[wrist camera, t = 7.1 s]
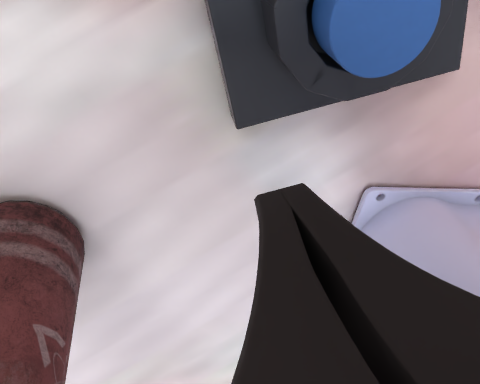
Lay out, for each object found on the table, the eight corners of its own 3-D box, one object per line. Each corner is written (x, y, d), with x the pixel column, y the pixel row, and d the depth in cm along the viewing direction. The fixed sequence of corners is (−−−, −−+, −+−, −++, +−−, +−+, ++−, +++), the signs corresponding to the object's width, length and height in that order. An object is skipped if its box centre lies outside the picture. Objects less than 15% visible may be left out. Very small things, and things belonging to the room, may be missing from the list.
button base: (465, -173, 16) (535, -185, 13) (441, 59, 21) (487, 85, 18) (181, -101, 15) (190, -98, 13) (231, 116, 21) (245, 151, 18)
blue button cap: (415, -66, 15) (447, -60, 13) (409, 47, 17) (436, 63, 16) (305, -37, 15) (325, -28, 13) (315, 72, 17) (333, 91, 15)
